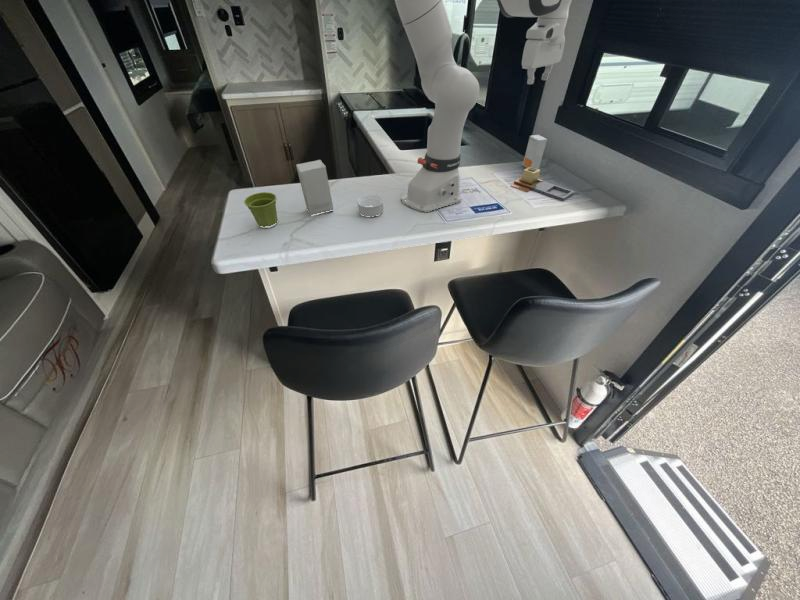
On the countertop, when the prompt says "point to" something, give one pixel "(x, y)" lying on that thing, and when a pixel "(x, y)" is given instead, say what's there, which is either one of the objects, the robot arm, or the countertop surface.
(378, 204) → the ramekin
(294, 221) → the countertop surface
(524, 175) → the yellow square block
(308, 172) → the skincare box
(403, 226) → the countertop surface
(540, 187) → the rail
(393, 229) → the countertop surface
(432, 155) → the robot arm
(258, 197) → the plant pot
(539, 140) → the skincare box
